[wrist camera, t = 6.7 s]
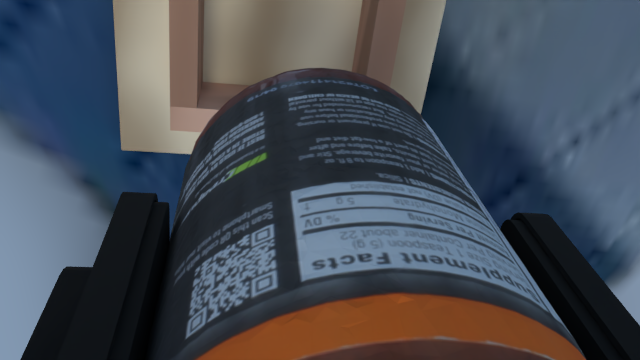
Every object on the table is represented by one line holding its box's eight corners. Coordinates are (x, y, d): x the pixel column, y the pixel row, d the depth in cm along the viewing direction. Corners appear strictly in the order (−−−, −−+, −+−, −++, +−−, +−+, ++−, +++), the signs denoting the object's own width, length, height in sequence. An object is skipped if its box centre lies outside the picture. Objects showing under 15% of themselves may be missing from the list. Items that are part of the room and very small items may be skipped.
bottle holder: (471, -152, 26) (511, -153, 22) (404, 157, 34) (424, 198, 30) (107, -206, 23) (77, -218, 19) (125, 140, 31) (107, 182, 27)
